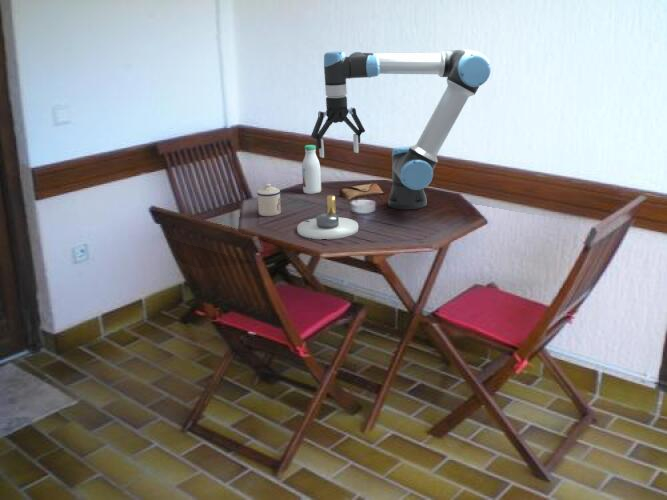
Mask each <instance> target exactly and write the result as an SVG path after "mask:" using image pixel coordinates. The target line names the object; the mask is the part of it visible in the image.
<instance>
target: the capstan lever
mask: <svg viewBox="0 0 667 500" xmlns="http://www.w3.org/2000/svg"><path fill="white" fill-rule="evenodd" d="M326 201H327V204H326V205H327V213H320V214H317V215H316V216H315V218H316V223H317V226H318V227H321V228H332V227H336V226H338V225H339V214H336V213H337V211H336V210H337V207H336V196H335V195H334V194H330V195H327V196H326Z"/></svg>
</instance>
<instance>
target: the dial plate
mask: <svg viewBox="0 0 667 500" xmlns="http://www.w3.org/2000/svg"><path fill="white" fill-rule="evenodd" d="M338 217H339V216H338ZM296 229H297V230H296V231H297V234H298V235H299V236H301V237H303V238H307V239H311V238H312V239H313V240H322V239H327V240H337V239H342V238H343V239H344V238H346V237H350V236H353V235H355V234H356V233H358V231H359V224H358V222H357V221H356V220H354V219H351V218H347V217H339V225H338V226H336V227H332V228H321V227H318V226H317V223H316V217H315V218H310V219H303V220H302V222H300V223H299V224H297V226H296Z"/></svg>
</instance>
